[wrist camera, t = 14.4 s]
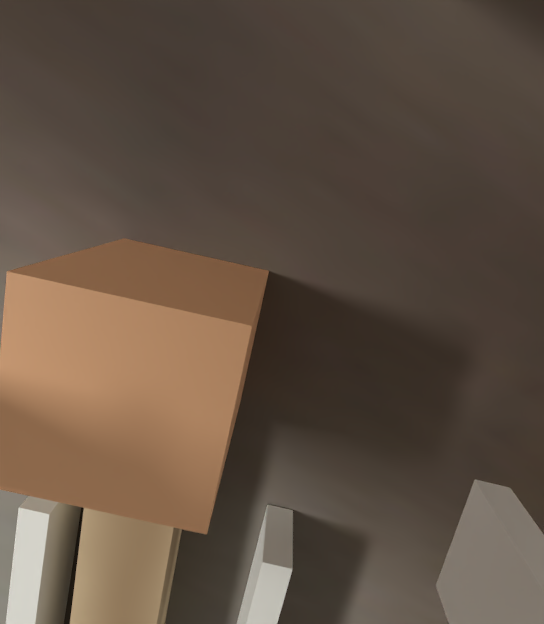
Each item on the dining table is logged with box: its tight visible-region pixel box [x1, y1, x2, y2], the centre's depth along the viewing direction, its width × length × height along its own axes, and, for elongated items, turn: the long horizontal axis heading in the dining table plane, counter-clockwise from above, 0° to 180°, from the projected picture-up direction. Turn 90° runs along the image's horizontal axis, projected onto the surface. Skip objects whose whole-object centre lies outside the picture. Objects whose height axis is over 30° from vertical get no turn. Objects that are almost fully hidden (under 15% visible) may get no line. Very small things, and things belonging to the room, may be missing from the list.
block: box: [0, 238, 269, 535], centre depth 14 cm, size 5×5×7 cm
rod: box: [70, 508, 182, 624], centre depth 18 cm, size 3×14×3 cm, turn 169°
